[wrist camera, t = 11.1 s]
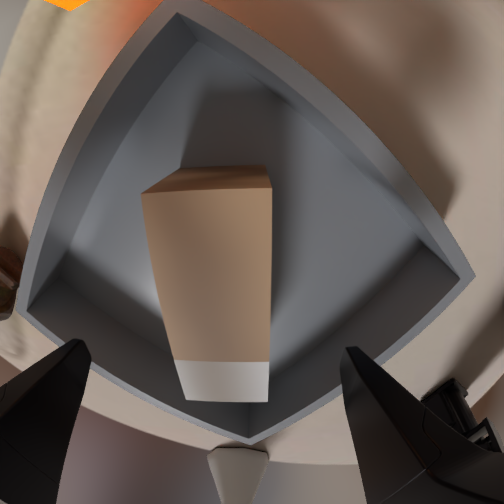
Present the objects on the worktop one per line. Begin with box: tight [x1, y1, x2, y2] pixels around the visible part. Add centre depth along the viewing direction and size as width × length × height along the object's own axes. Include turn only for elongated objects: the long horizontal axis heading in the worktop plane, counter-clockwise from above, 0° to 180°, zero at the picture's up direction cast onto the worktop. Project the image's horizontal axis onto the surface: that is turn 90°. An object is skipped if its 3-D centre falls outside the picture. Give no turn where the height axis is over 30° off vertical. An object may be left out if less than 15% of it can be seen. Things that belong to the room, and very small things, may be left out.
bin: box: [16, 0, 476, 445], centre depth 13 cm, size 18×18×4 cm
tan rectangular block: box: [141, 165, 272, 402], centre depth 13 cm, size 4×10×5 cm, turn 1°
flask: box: [207, 448, 269, 504], centre depth 22 cm, size 7×7×10 cm
